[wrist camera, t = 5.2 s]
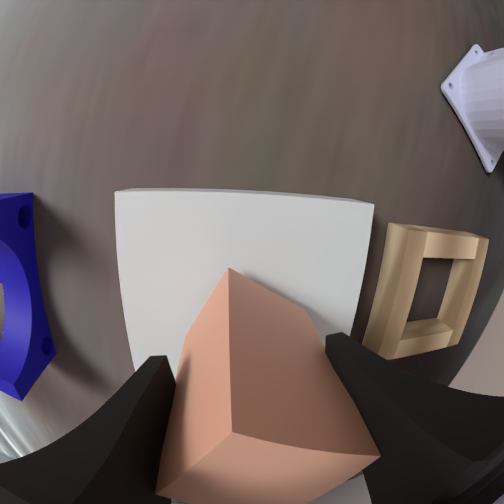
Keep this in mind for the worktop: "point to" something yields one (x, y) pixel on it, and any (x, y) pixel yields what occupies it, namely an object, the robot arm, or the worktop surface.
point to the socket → (404, 284)
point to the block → (258, 406)
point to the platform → (234, 257)
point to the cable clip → (21, 300)
